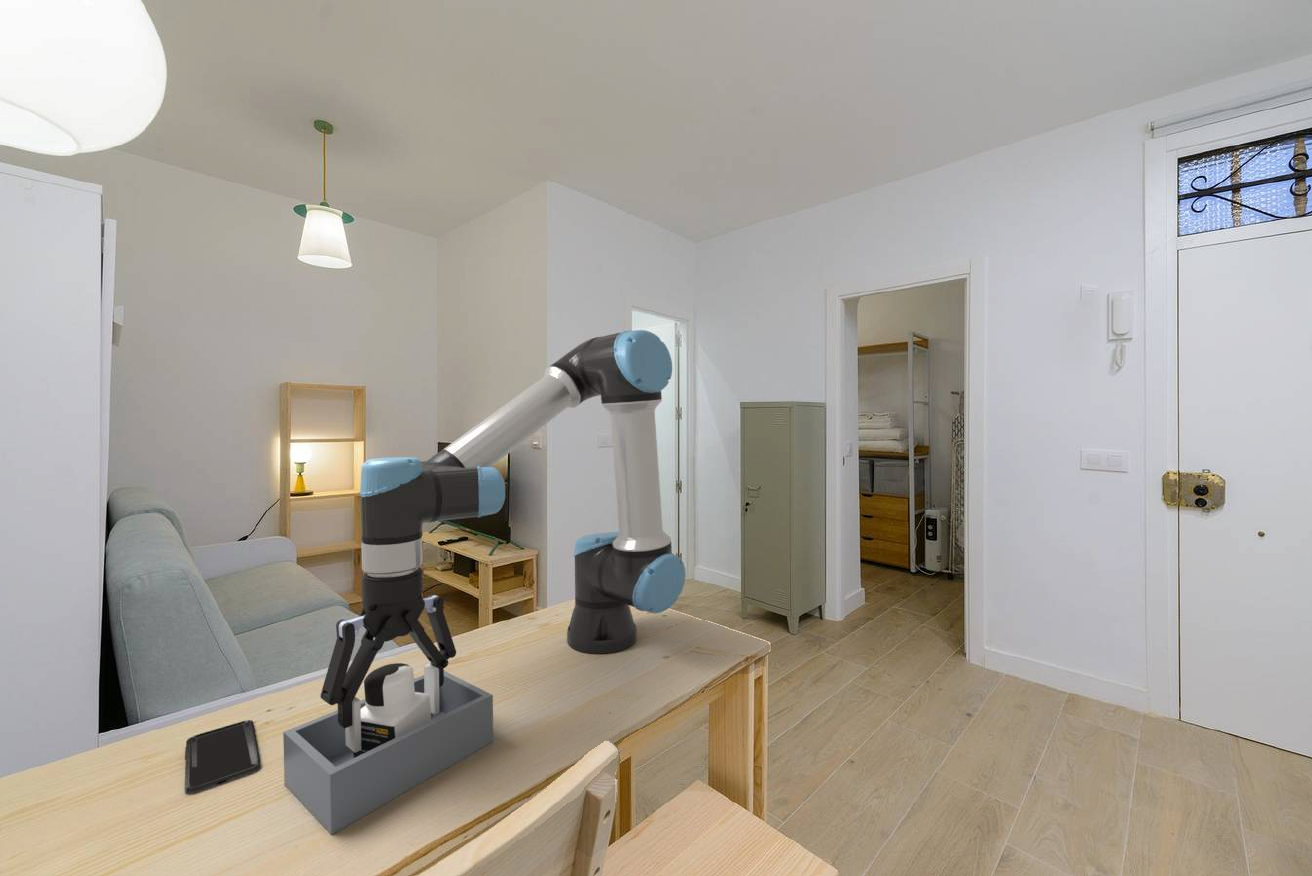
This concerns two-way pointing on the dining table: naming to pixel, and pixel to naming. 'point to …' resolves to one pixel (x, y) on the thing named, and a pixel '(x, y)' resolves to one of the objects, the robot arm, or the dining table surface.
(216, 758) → the phone
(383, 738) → the medicine bottle
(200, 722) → the dining table surface
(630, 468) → the robot arm
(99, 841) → the dining table surface
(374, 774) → the slate box
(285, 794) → the dining table surface
